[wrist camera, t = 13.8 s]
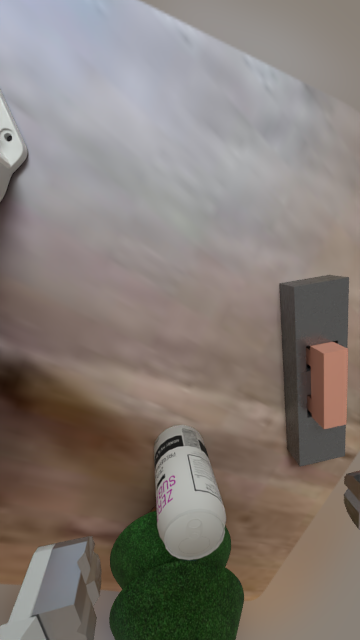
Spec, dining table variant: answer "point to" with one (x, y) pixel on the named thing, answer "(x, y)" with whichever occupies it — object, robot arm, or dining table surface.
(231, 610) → the decorative tree
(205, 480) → the supplement can
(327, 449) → the rail
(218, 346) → the dining table surface
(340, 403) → the pink notched block
